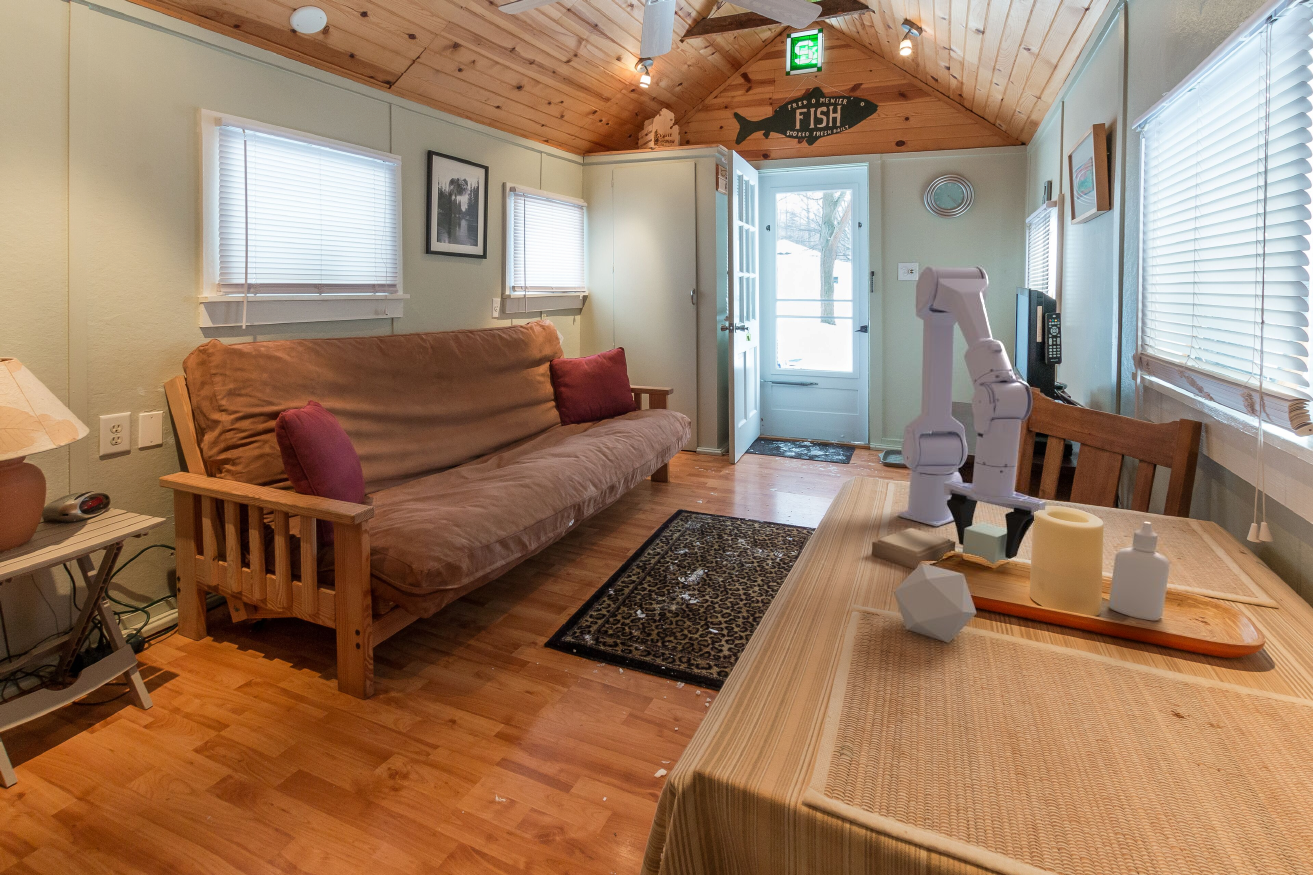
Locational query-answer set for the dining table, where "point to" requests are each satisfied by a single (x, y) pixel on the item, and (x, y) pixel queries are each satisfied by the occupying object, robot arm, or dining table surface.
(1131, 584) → the eye dropper bottle
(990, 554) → the sage block
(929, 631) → the die
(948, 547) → the plinth
